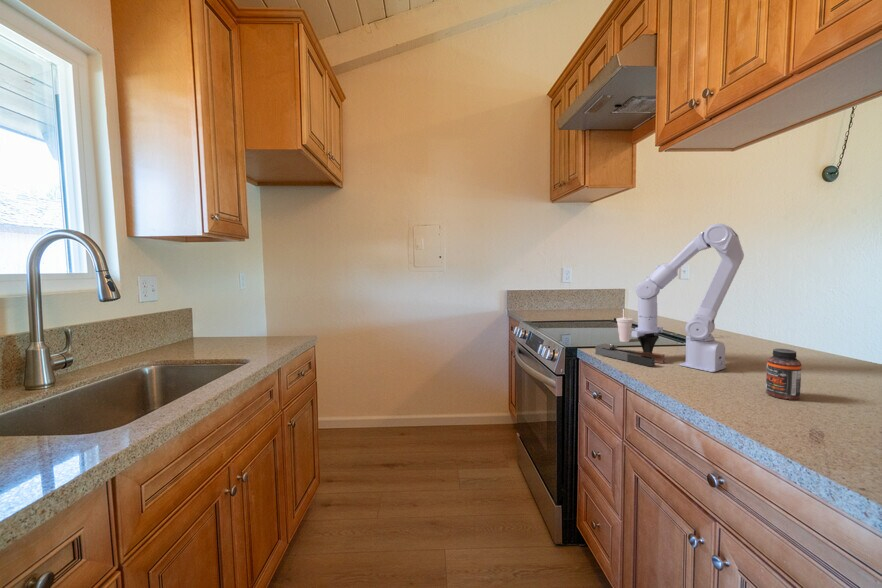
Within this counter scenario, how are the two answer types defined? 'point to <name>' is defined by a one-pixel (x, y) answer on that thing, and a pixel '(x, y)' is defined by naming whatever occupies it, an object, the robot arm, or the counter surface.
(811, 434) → the counter surface
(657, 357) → the tong arm
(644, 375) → the counter surface
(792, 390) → the supplement bottle
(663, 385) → the counter surface
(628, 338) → the smoothie
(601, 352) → the frame
